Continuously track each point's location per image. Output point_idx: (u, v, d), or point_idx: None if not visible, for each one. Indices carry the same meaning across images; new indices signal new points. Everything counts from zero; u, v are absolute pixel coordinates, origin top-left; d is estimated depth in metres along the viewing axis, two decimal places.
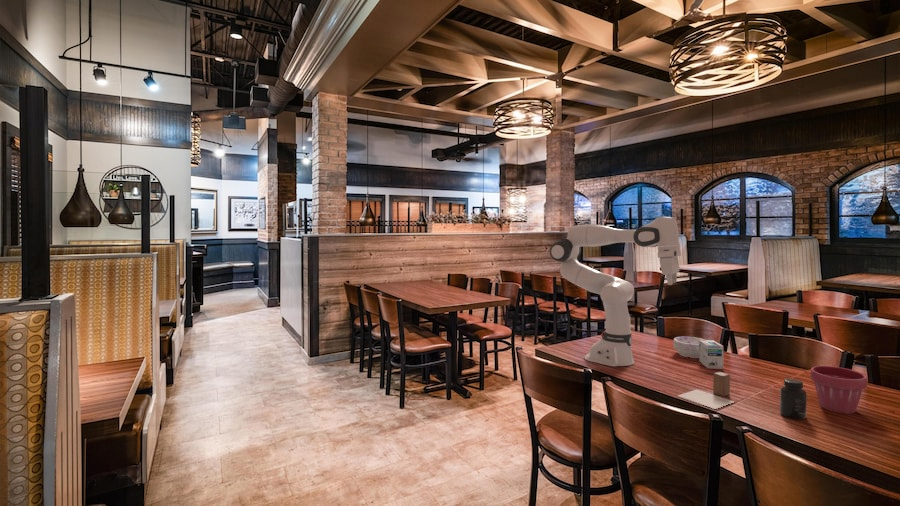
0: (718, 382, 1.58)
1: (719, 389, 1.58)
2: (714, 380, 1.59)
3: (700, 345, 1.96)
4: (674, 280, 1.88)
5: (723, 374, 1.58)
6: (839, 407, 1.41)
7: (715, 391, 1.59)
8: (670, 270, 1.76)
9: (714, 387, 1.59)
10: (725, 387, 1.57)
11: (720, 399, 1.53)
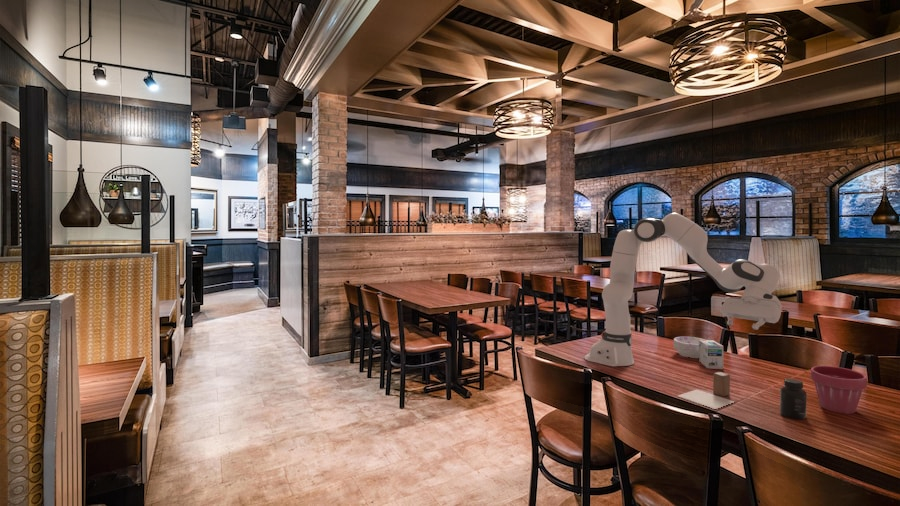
0: (718, 382, 1.58)
1: (719, 389, 1.58)
2: (714, 380, 1.59)
3: (700, 345, 1.96)
4: (732, 323, 1.68)
5: (723, 374, 1.58)
6: (839, 407, 1.41)
7: (715, 391, 1.59)
8: (778, 319, 1.58)
9: (714, 387, 1.59)
10: (725, 387, 1.57)
11: (720, 399, 1.53)
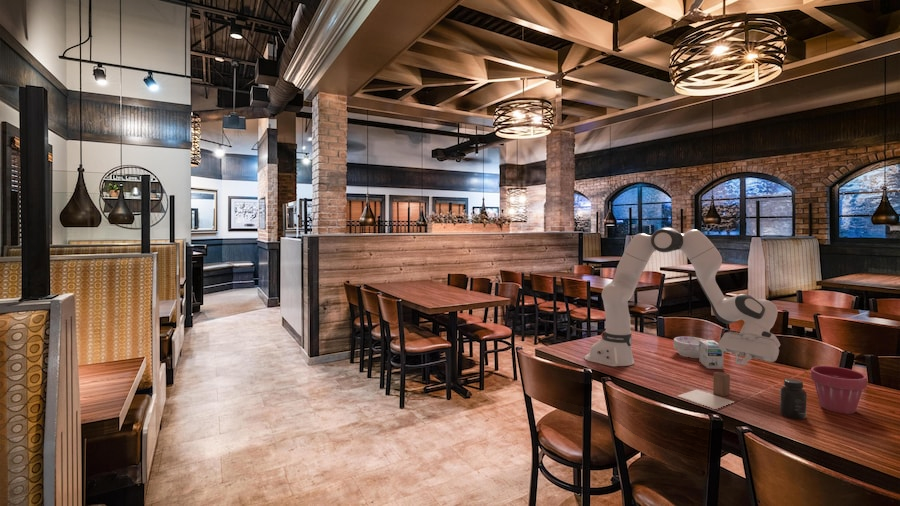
0: (718, 382, 1.58)
1: (719, 389, 1.58)
2: (714, 380, 1.59)
3: (700, 345, 1.96)
4: None
5: (723, 374, 1.58)
6: (839, 407, 1.41)
7: (715, 391, 1.59)
8: (776, 358, 1.58)
9: (714, 387, 1.59)
10: (725, 387, 1.57)
11: (720, 399, 1.53)
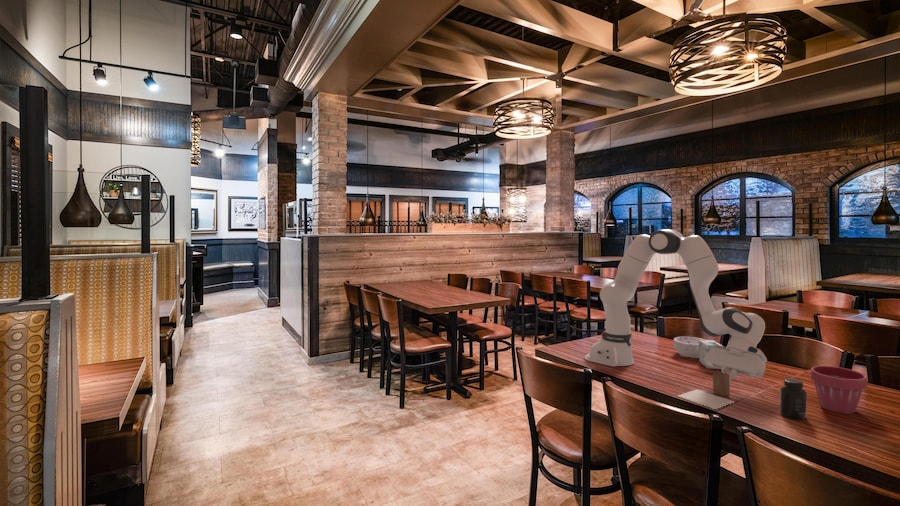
0: (718, 382, 1.58)
1: (719, 389, 1.58)
2: (714, 380, 1.59)
3: (700, 345, 1.96)
4: None
5: (722, 374, 1.58)
6: (839, 407, 1.41)
7: (715, 391, 1.59)
8: (762, 375, 1.54)
9: (714, 387, 1.59)
10: (724, 387, 1.57)
11: (720, 399, 1.53)
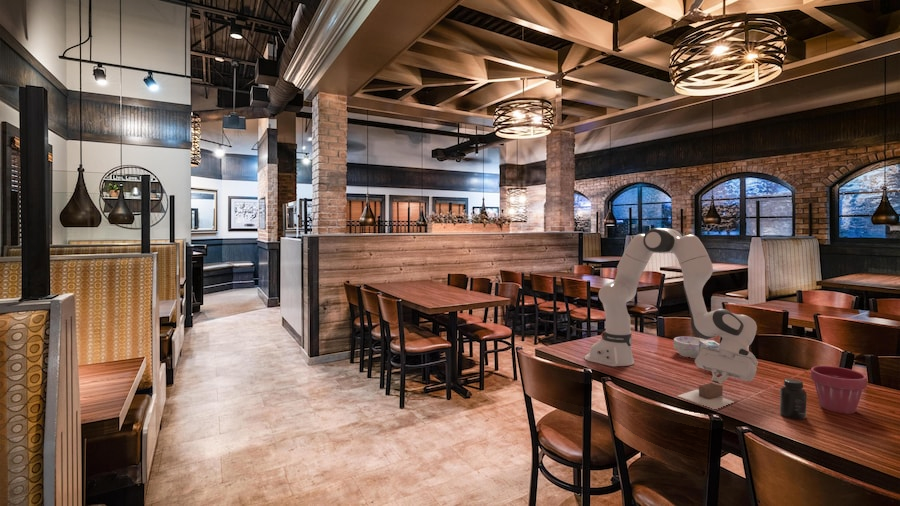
0: None
1: None
2: None
3: (700, 345, 1.96)
4: None
5: (705, 393, 1.54)
6: (839, 407, 1.41)
7: None
8: (753, 378, 1.51)
9: None
10: (716, 395, 1.55)
11: (720, 399, 1.53)
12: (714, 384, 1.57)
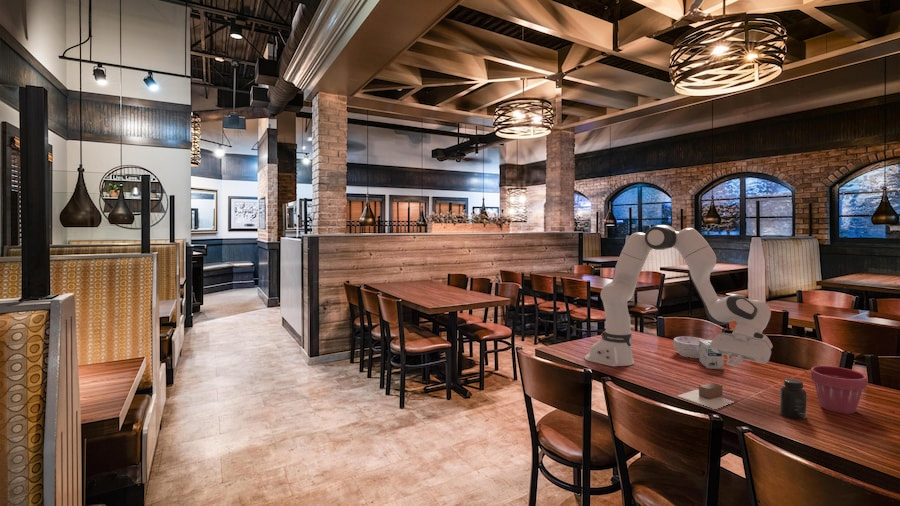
0: None
1: None
2: None
3: (700, 345, 1.96)
4: None
5: (705, 393, 1.54)
6: (839, 407, 1.41)
7: None
8: (768, 360, 1.55)
9: None
10: (716, 395, 1.55)
11: (720, 399, 1.53)
12: (714, 385, 1.57)
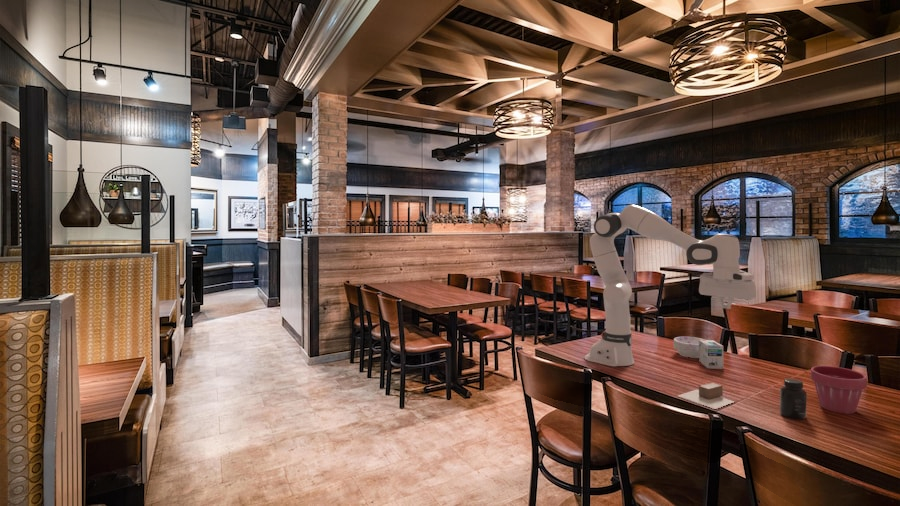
0: None
1: None
2: None
3: (700, 345, 1.96)
4: None
5: (705, 393, 1.54)
6: (839, 407, 1.41)
7: None
8: (755, 295, 1.59)
9: None
10: (716, 395, 1.55)
11: (720, 399, 1.53)
12: (714, 385, 1.57)
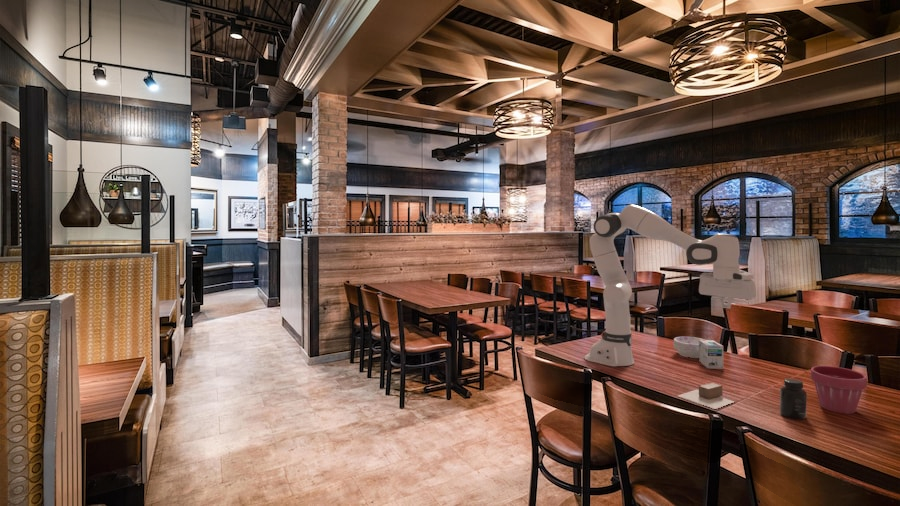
0: None
1: None
2: None
3: (700, 345, 1.96)
4: None
5: (705, 393, 1.54)
6: (839, 407, 1.41)
7: None
8: (755, 294, 1.59)
9: None
10: (716, 395, 1.55)
11: (720, 399, 1.53)
12: (713, 385, 1.57)
